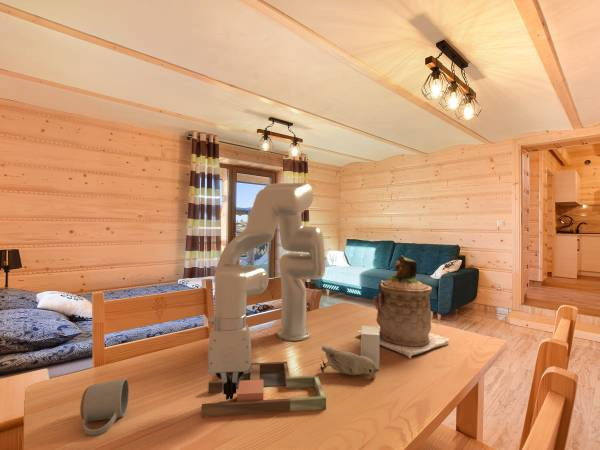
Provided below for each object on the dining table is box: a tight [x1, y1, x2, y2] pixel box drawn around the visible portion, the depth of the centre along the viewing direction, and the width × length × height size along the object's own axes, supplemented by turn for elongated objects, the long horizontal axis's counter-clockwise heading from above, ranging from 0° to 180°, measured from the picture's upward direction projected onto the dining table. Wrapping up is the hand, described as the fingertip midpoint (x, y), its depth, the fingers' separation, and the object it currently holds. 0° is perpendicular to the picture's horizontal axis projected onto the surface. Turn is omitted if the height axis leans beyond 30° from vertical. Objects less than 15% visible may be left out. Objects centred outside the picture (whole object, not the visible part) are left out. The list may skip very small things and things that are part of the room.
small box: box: [360, 325, 381, 371], centre depth 97 cm, size 8×6×10 cm
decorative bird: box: [319, 345, 377, 380], centre depth 90 cm, size 5×16×8 cm, turn 72°
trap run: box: [200, 361, 327, 418], centre depth 82 cm, size 20×28×2 cm
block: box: [236, 379, 264, 402], centre depth 76 cm, size 6×6×4 cm
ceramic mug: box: [79, 378, 130, 436], centre depth 68 cm, size 11×8×8 cm
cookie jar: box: [357, 255, 450, 359], centre depth 117 cm, size 25×25×32 cm
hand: (229, 396), depth 76 cm, fingers closed
